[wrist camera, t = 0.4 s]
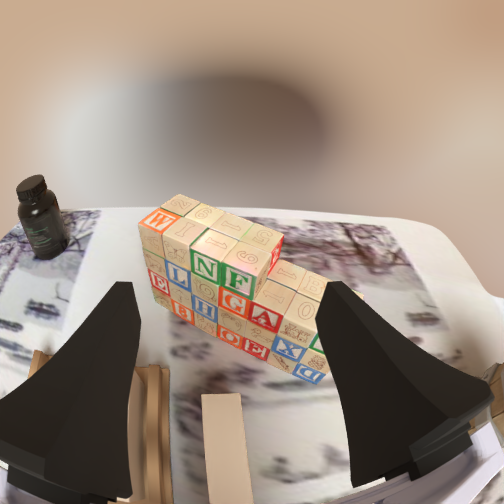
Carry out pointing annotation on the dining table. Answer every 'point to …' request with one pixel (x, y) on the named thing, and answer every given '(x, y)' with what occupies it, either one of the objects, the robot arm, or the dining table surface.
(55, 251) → the supplement bottle
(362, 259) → the dining table surface
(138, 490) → the cream long block
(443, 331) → the dining table surface
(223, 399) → the beige rectangular block
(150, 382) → the rack
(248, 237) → the stack of blocks
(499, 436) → the tankard
